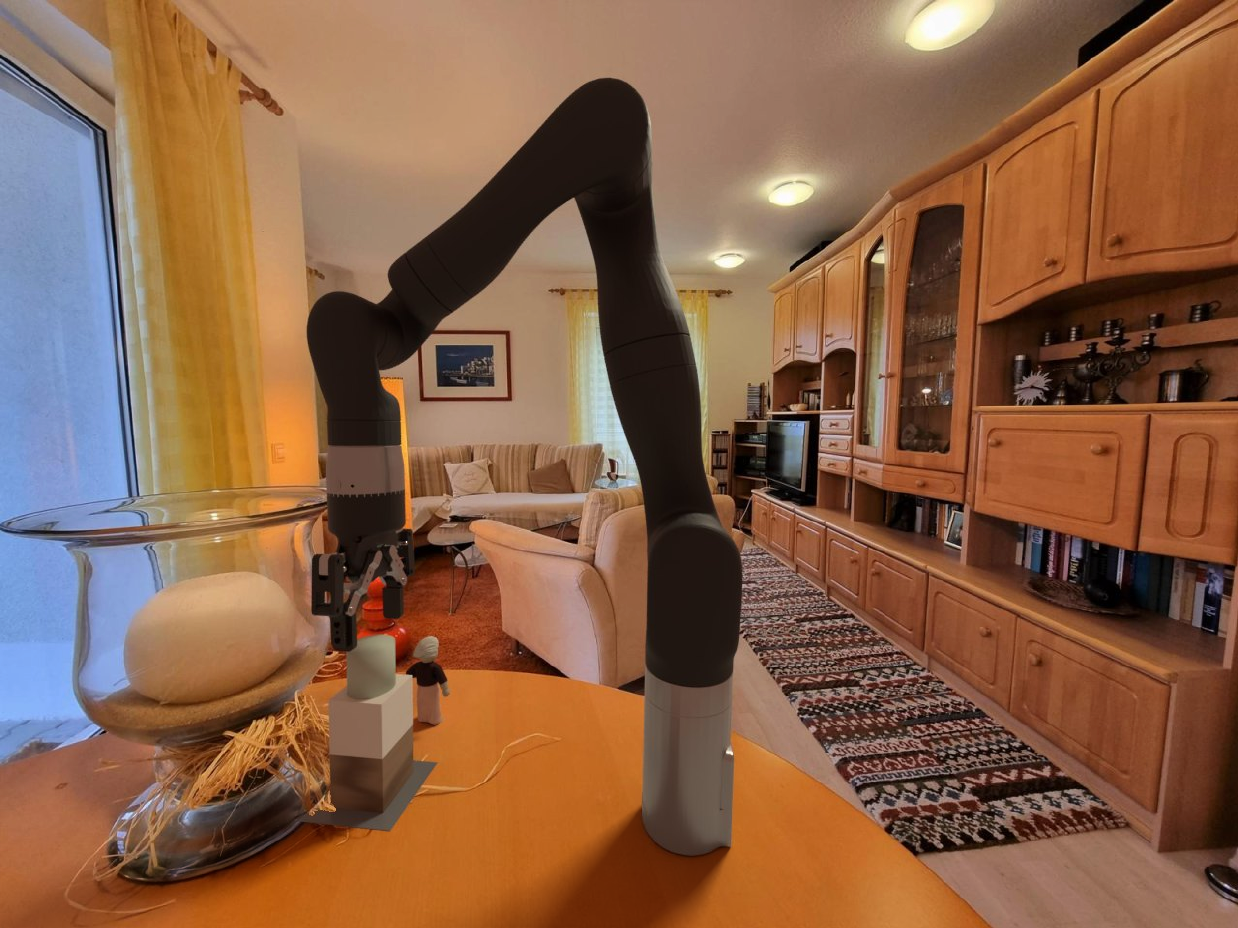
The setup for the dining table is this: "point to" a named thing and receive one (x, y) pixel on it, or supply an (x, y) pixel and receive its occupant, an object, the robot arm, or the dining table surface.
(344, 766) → the tower base
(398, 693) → the tower top
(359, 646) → the drum
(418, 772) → the coaster
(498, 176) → the robot arm
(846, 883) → the dining table surface
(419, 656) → the grandmother figurine
